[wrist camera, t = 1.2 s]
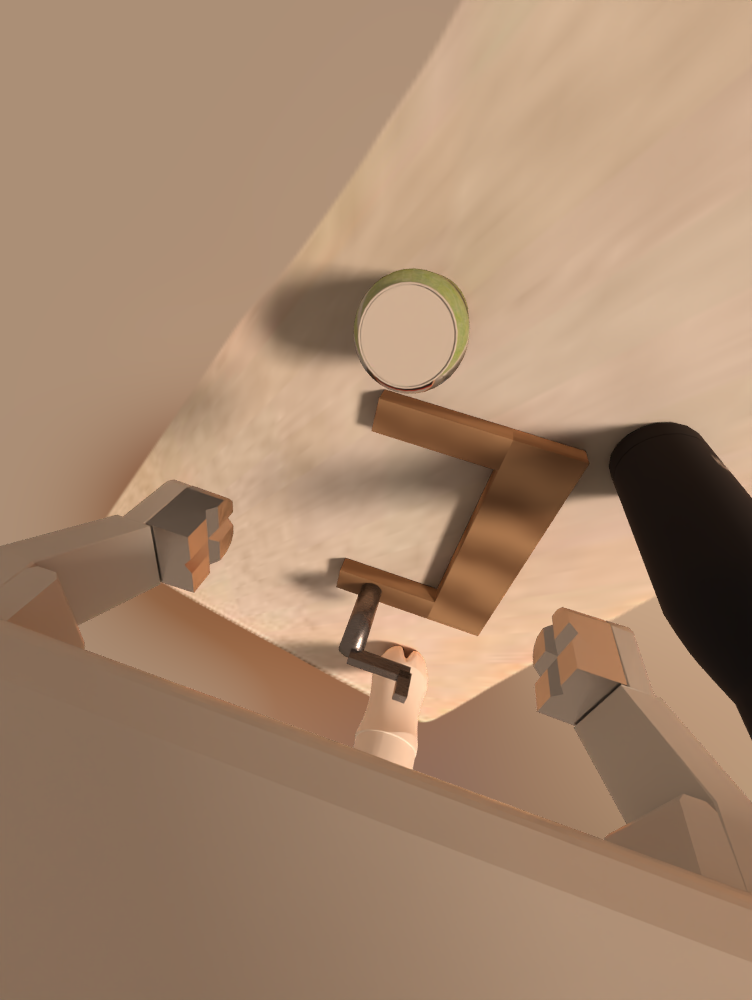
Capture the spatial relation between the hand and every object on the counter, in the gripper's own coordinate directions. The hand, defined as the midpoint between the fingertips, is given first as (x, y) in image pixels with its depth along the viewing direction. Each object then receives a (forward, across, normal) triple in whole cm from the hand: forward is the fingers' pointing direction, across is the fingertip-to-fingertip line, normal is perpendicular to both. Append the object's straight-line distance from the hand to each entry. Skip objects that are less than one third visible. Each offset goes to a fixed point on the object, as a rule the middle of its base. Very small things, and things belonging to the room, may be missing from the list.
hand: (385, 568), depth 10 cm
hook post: (+26, -2, +29) cm, 39 cm away
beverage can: (+26, +3, -1) cm, 26 cm away
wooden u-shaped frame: (+26, -4, +18) cm, 32 cm away
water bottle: (+26, -6, +42) cm, 50 cm away
